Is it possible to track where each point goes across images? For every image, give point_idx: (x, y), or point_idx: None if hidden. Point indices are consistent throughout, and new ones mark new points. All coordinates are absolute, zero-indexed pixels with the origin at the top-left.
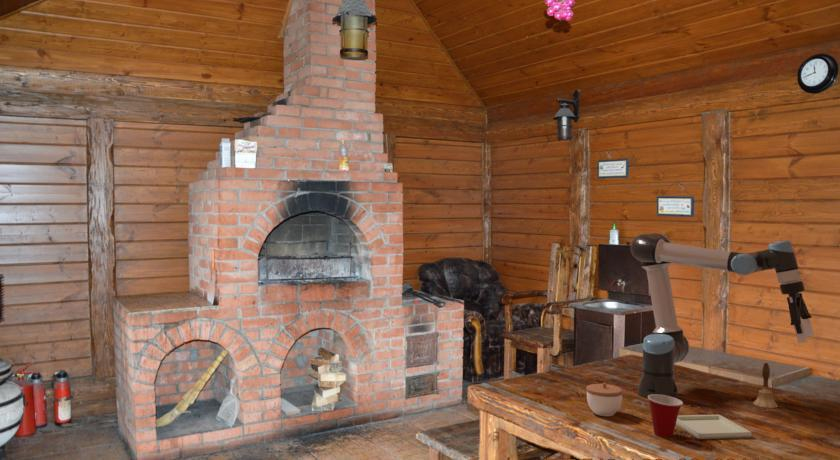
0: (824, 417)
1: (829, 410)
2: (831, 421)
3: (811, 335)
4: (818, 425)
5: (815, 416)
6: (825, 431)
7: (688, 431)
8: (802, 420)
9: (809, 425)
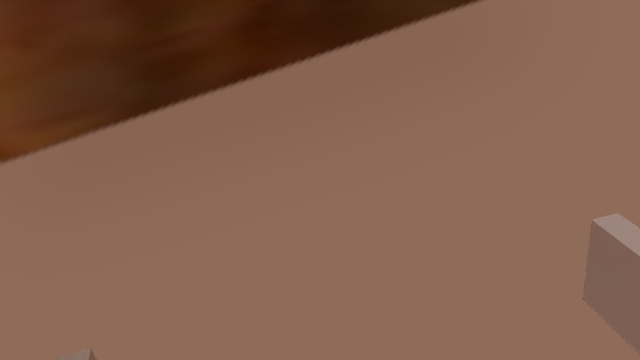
0: (235, 52)
1: (382, 22)
2: (195, 93)
3: (594, 286)
4: (66, 86)
5: (214, 20)
6: (2, 137)
7: None
8: (70, 7)
9: (17, 63)
